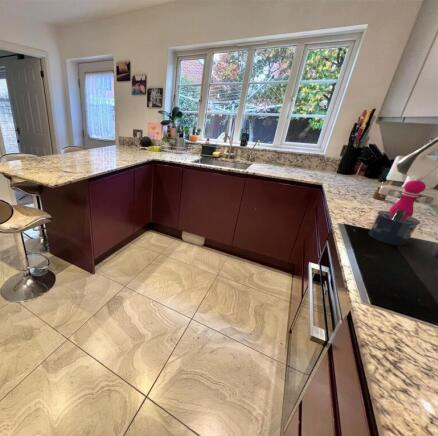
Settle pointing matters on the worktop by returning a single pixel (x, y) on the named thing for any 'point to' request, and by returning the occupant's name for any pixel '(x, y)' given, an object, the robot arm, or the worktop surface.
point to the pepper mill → (409, 196)
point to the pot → (391, 231)
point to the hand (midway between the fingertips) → (408, 198)
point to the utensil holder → (380, 196)
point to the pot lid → (398, 217)
